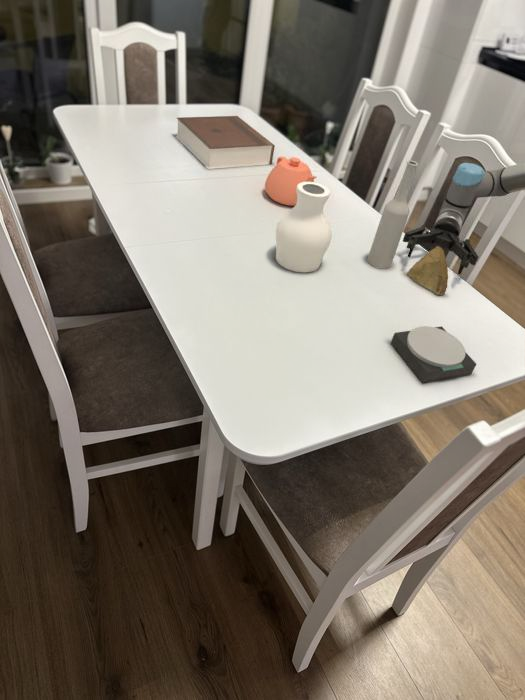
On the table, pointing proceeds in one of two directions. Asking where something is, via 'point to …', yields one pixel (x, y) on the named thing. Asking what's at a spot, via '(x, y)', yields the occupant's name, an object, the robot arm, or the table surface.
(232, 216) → the table surface
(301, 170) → the teapot
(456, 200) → the robot arm
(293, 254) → the vase
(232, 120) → the book
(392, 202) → the bottle
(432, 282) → the rock
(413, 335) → the scale
